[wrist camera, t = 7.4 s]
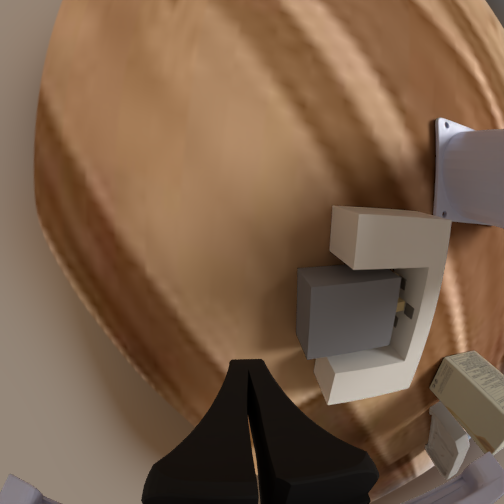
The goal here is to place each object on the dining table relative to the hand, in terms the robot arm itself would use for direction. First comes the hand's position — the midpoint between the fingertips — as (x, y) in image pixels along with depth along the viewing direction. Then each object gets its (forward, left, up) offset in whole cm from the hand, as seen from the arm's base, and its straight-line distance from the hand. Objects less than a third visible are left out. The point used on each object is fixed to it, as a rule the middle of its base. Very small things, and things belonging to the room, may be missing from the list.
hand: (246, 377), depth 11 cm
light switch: (-25, +21, -8) cm, 34 cm away
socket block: (-9, 0, -8) cm, 12 cm away
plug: (-7, 0, -8) cm, 11 cm away
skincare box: (-23, +10, -8) cm, 27 cm away
